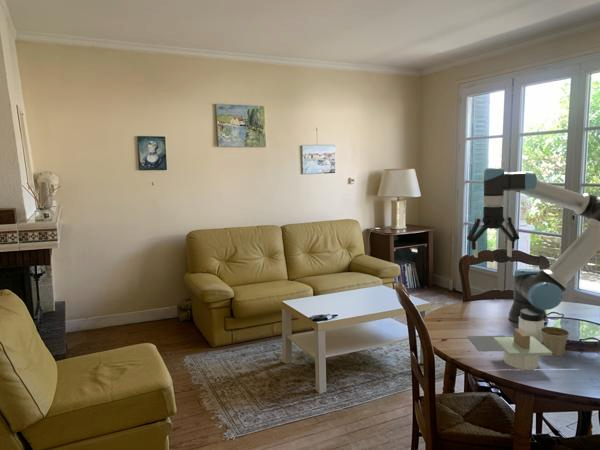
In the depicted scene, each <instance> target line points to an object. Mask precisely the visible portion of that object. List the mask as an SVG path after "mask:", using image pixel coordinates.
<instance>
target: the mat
mask: <svg viewBox="0 0 600 450" xmlns="http://www.w3.org/2000/svg"><path fill="white" fill-rule="evenodd" d="M466 337H467V339H468V340H469V342H471V343H472V345H473V346H474V348H475V349H476V350H477V351H478V352H504V350H503V349H502V348H501V347H500V346H499V345H498V344H497V343H496V342H495V341H494V337H506V336H505V335H466Z"/></svg>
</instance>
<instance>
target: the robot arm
mask: <svg viewBox="0 0 600 450" xmlns="http://www.w3.org/2000/svg"><path fill="white" fill-rule="evenodd" d="M510 191H511V192H512V191H513V192H516V193H519V194H522V195H525V196H529V197H531V198H534V199H537V200H540V201H543V202H547V203H549V204H553V205H556V206H559V207H562V208H564V209H567V210H570V211H574V214H575V215H578V216H581V217H583V218H585V219H588V220H589V225H588V226H587V228H586V229H584V231H582V233H581V234H580V235H578V237H577V238H576V239H575V240H574V241H573V242H572V243H571V244H570V245H569V246H568V247H567V248H566V250H564V252H562V253H561V255H560V256H559V257H558V258H557V259H555V261H554V262H553V263H552V264H551V265H550V266H549V267H548V268H545V269H536V268H518V269H515V270H514V273H513V302H512V305H511V306H510V307H511V308H510V309H509V312H508V319H509V320H510V321H512V322H514V323H517V324H519V316H520V310H522V309H536V310H540V311H542V312H543V320H544V321H546V320H547V321H548V316H547V314H546V311H547V310H549V311H550V310H552V309H555V308H557V307H558V306H560V304H561V302H562V301H563V295H564V294H563V293H564V292H566V291H567V290H568V285H567V283H568V282H569V281H570V280H571V279H572V278H573V277H574V276H576V274H577V273H578V272H579V271H580V270H581V269H582V268H584V266H585V265H586V264H587V263H588V262H589V261H590V260H591V259H592V257H594V255H595V254H597V253H598V251H600V195H595V194H590V193H587V192H584V193H579V192H577V191H573V190H570V189H567V188H564V187H562V186H561V187H560V186H557V185H554V184H552V183H549V182H545V181H542V180H539V179H538V178H537V174H536V173H535V172H534V171H510V170H506V171H505V169H504V167H489V168H485V169H484V172H483V205H484V206H483V213H482V214H483V215H482V216H483V217H482V218H479V217H475V219H474V223H473V225H472V227H471V229H470V231H469V234H468V235H467V237H466V240H468V241H470V242H471V249H472V250H473V257H474V258H475V259H476V258H477V259H478V258H479V256H478V254H479V242H478V239H480V237H482V235H483V234H484V233H485V232H486V231H487V230H488V229H489V230H491V229H500V231H501V232H502V233H503V234H504V235H505V236H506V238H507V239H508V240H507V245H506V246H507V247H506V249H507V250H506V256H507V257H509V258H512V256H513V255H512V253H513V249H514V248H515V242H516V241H517V240H519V239H520V236H519V234H518V232H517V230H516V228H515V225H514V224H513V221H512V217H511V216H507V217H504V207H503V205H504V203H505V202H504V201H505V199H504V197H505V196H504V195H505V194H504V193H505V192H510ZM504 222H505V223H506V225H507V227H508V229H509V231H510V232H511V233H510V232H509V231H508V230H507V229H506V228H505V226H504V225H503V223H504ZM481 223H482V226H481V227H480V228H479V226H480V224H481ZM478 228H479V229H478ZM477 230H478V231H477Z"/></svg>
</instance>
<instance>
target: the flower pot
mask: <svg viewBox="0 0 600 450" xmlns="http://www.w3.org/2000/svg"><path fill="white" fill-rule="evenodd" d="M540 331H541V334H542V337H543V342H542V345H544V346H545V347H546V348H547V349H549V350H550V351H551V352H552V355H551V356H555V357H561V356H564V354H565V349H566V343H567V340H568V339H569V338H568V337H569V336H570V332H569V331H568V330H567V329H565V328H561V327H556V326H544V327H543V328H541V329H540Z"/></svg>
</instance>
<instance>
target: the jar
mask: <svg viewBox="0 0 600 450" xmlns="http://www.w3.org/2000/svg"><path fill="white" fill-rule="evenodd" d="M543 327H545V324H544V320H543V312H542V311H540V310H536V309H522V310H520V316H519V323H518V329H522V330H523V331H525V332H526V333H527V334H528V335H530V337H534V338H535V339H536V340H538V341H539V342H540V343H541V344H543V337H542V334H541V331H540V329H541V328H543Z"/></svg>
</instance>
